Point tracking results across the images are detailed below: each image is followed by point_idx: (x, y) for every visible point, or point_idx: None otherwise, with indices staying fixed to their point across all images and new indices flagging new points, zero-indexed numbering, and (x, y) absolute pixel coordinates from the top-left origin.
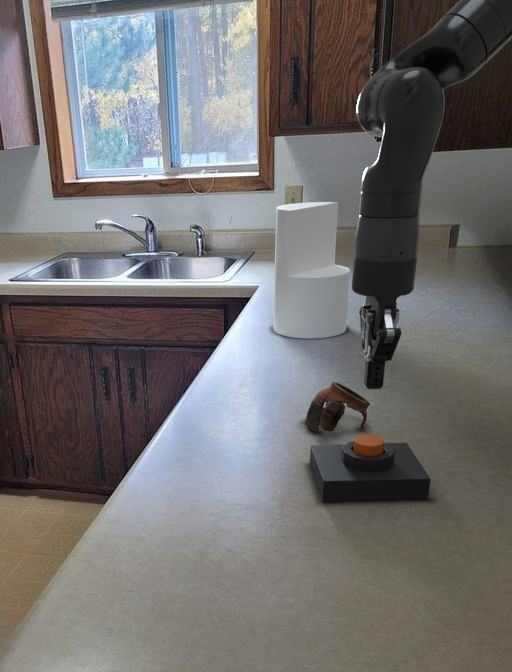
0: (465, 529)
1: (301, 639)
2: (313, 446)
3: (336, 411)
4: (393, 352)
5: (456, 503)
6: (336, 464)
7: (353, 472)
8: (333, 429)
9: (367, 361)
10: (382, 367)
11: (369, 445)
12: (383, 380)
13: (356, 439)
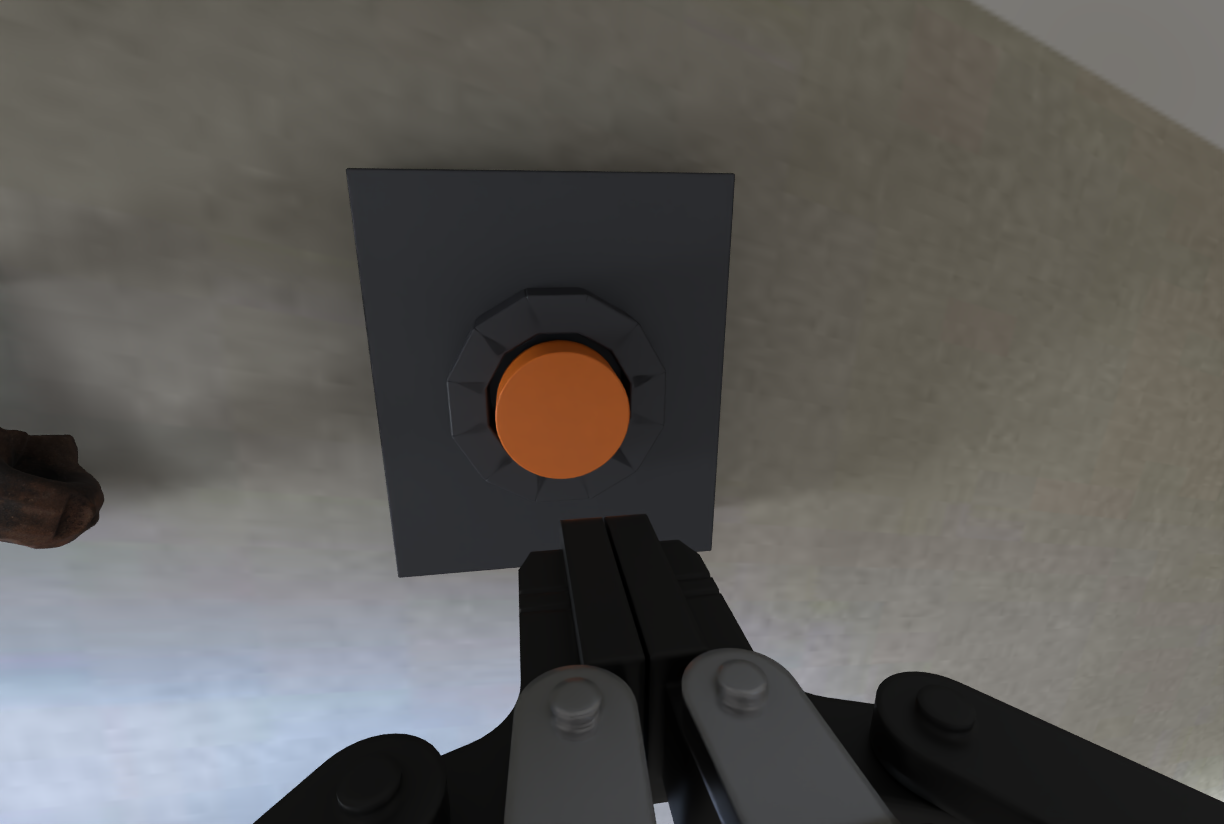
0: (906, 115)
1: (1185, 581)
2: (411, 569)
3: (51, 486)
4: (1156, 782)
5: (738, 78)
6: (584, 502)
7: (655, 452)
8: (71, 440)
9: (662, 799)
10: (744, 646)
11: (622, 425)
12: (654, 536)
13: (552, 469)
